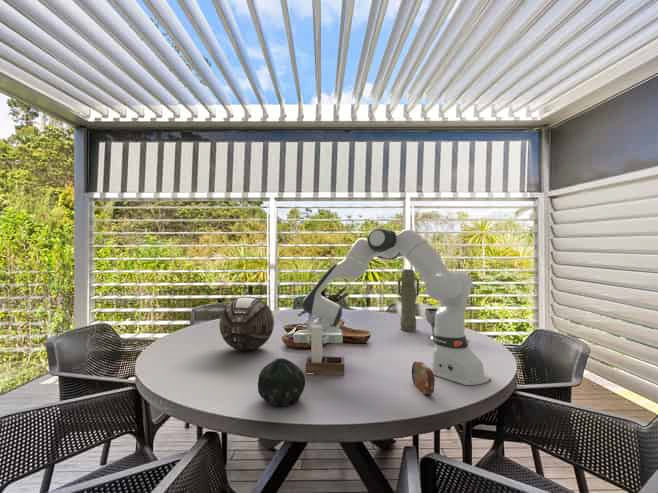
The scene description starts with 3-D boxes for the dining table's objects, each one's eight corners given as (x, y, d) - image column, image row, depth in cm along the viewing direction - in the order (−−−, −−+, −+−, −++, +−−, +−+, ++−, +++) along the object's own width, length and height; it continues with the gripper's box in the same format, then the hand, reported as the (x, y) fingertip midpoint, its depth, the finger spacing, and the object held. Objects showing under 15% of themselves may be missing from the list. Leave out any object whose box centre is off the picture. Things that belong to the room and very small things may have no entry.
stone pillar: (396, 328, 212) (396, 269, 212) (415, 328, 214) (415, 269, 213) (400, 332, 204) (400, 270, 203) (420, 331, 205) (420, 270, 205)
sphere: (279, 343, 181) (279, 293, 181) (265, 359, 156) (265, 301, 156) (231, 341, 183) (231, 292, 183) (210, 357, 158) (210, 300, 158)
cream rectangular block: (312, 361, 145) (312, 324, 144) (322, 361, 144) (322, 324, 144) (311, 366, 140) (311, 327, 139) (321, 366, 139) (321, 327, 139)
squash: (287, 370, 127) (266, 344, 119) (319, 382, 117) (299, 355, 109) (263, 407, 119) (239, 382, 111) (296, 423, 109) (272, 397, 101)
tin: (410, 381, 131) (410, 358, 131) (419, 381, 131) (419, 357, 131) (427, 399, 116) (427, 373, 116) (436, 398, 116) (436, 372, 116)
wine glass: (442, 339, 187) (442, 311, 187) (427, 339, 187) (427, 311, 187) (438, 336, 195) (438, 308, 195) (423, 335, 195) (423, 308, 195)
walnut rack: (307, 366, 147) (307, 356, 147) (344, 366, 146) (344, 356, 146) (305, 374, 138) (305, 363, 138) (344, 374, 137) (344, 364, 137)
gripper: (295, 325, 155) (290, 333, 141) (342, 325, 154) (342, 333, 141) (295, 340, 155) (290, 349, 141) (342, 340, 154) (342, 350, 141)
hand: (316, 341), depth 141 cm, fingers closed on cream rectangular block, 4 cm apart
